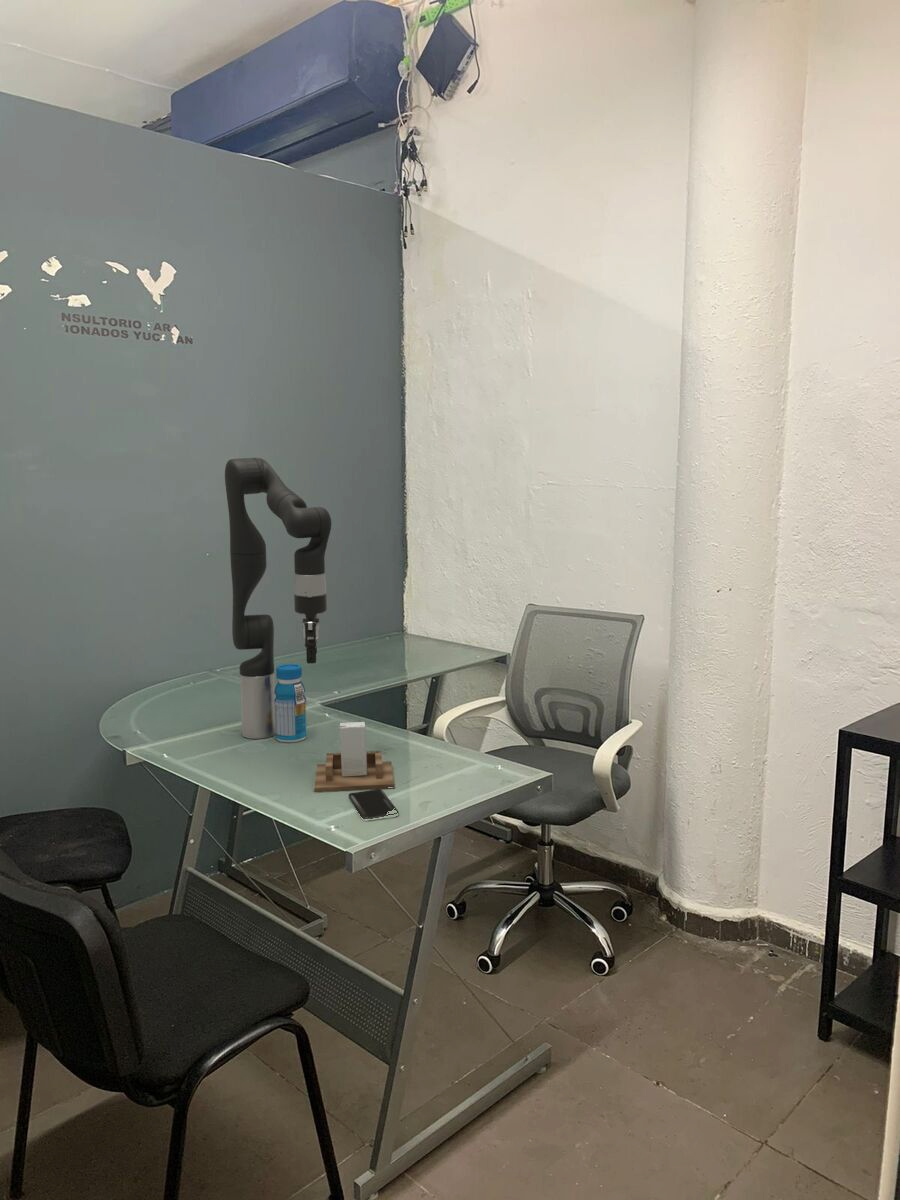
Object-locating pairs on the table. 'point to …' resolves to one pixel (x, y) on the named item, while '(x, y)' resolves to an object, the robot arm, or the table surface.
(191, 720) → the table surface
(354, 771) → the skincare box
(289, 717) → the beverage bottle
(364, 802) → the phone
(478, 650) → the table surface
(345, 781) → the u rest
